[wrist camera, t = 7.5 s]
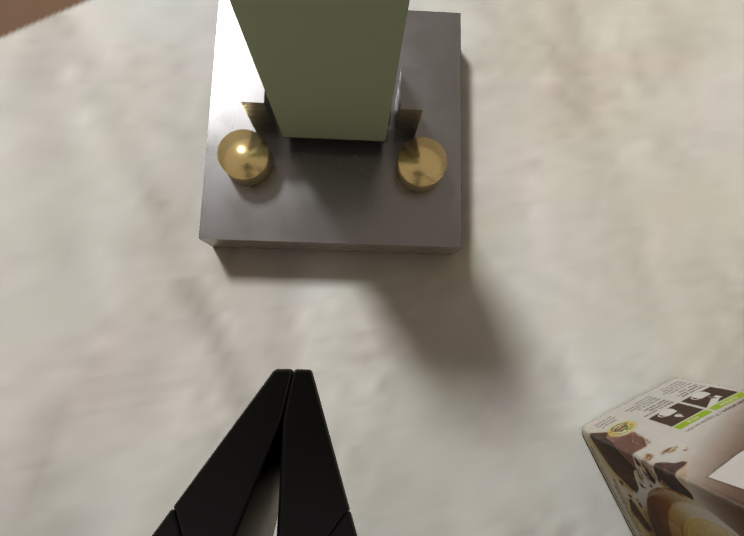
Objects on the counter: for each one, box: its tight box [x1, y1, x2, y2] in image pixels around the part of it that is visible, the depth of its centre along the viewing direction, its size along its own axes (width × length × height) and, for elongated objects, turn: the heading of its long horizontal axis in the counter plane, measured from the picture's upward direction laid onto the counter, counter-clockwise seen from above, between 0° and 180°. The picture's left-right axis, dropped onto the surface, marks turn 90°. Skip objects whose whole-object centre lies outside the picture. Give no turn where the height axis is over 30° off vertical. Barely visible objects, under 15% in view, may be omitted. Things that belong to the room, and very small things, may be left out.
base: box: [199, 0, 461, 254], centre depth 21 cm, size 13×13×5 cm
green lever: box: [229, 0, 409, 141], centre depth 15 cm, size 3×5×13 cm, turn 88°
